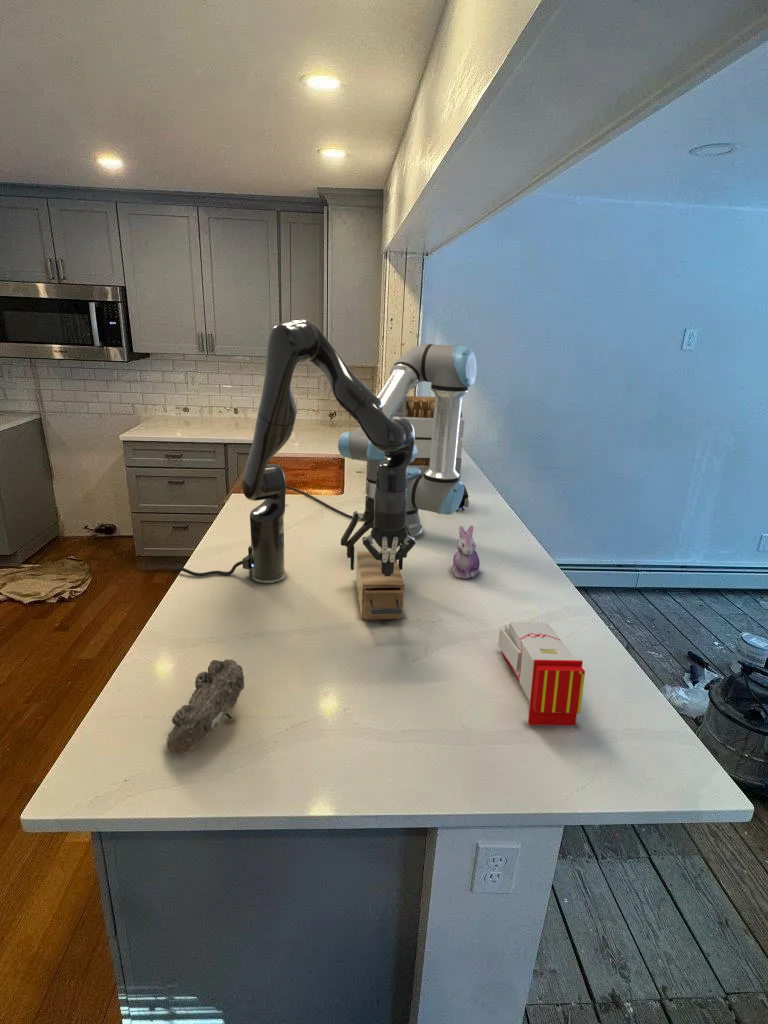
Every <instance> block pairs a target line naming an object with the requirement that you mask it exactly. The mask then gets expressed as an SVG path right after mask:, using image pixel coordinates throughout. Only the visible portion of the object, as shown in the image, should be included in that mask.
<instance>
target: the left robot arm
mask: <svg viewBox="0 0 768 1024" xmlns="http://www.w3.org/2000/svg"><path fill="white" fill-rule="evenodd" d="M267 340H268V341H267V350H266V359H265V373H264V379H263V380H264V381H263V385H262V391H261V398H260V403H259V406H258V410H257V415H256V421H255V428H254V432H253V438H252V442H251V446H250V450H249V454H248V457H247V459H246V461H245V462H246V463H245V466H244V469H243V473H242V479H241V488H242V493H243V494H244V497H245V498H246V499H247V500H249V501H252V502H253V501H255V502H256V501H257V502H258V501H263V502H262V503H261V504H259V505H258V506H256V507H255V508H253V509H252V510H251V511H250V513H249V528H250V529H249V530H250V545H248V547H247V550H248V551H247V553H248V555H246V556H245V557H243V558H242V559H241V560H240V561H238V562H236V563H235V564H233V565H232V567H231V568H230V570H229V571H222V570H211V571H206V572H194V571H191V570H190V569H188V568H185V567H181V566H180V567H175V568H174V569H172V570H171V572H170V573H171V574H176V573H177V572H184V573H186V574H188V575H191V576H193V577H194V576H195V577H207V576H211V575H220V576H221V575H222V576H230V575H232V574H234V573H235V571H236V568H238V567H240V566H241V565H242V569H243V570H244V569H245V570H248V573H249V574H248V577H249V579H252V580H253V581H254V582H257V583H259V584H275V583H278V582H280V581H282V580H284V579H285V577H286V572H285V571H286V569H285V532H284V531H285V524H284V523H285V520H284V516H285V512H286V496H287V495H286V493H287V488H286V486H287V480H286V475H285V472H284V469H283V468H282V467H281V465H280V464H277V463H270V461H271V460H272V459H273V457H275V455H277V453H279V451H280V450H281V449H283V447H284V446H285V445H286V443H287V442H288V441H289V440H290V438H291V436H292V433H293V431H294V427H295V423H296V419H297V412H298V411H297V408H298V407H297V404H296V400H295V398H294V395H293V393H292V389H291V384H292V379H293V375H294V371H295V369H296V367H297V365H298V364H301V363H304V362H307V361H309V362H311V363H312V364H314V366H316V367H317V368H319V370H320V371H321V372H322V373H323V374H324V376H325V377H326V379H327V381H328V384H329V386H330V390H331V393H332V394H333V397H334V398H335V400H336V402H337V403H338V404H339V405H340V407H341V408H342V409H343V410H344V411H345V412H346V413H347V414H348V415H349V416H350V417H351V418H352V419H354V420H355V421H356V423H358V425H360V426H361V428H362V430H363V431H364V433H365V435H366V436H367V438H368V439H369V441H370V442H371V443H372V445H373V446H374V447H375V448H377V449H378V450H379V451H381V452H383V453H385V455H384V458H383V460H382V461H381V462H380V463H379V465H378V467H377V476H376V491H375V498H374V523H373V529H372V528H371V530H370V534H369V535H366V536H362V537H361V542H362V544H363V546H364V547H365V549H367V551H369V552H370V553H371V554H372V556H373V557H374V558H375V559H376V560H380V561H381V571H382V574H384V576H391V574H393V572H394V562H395V561H396V560H397V561H399V560H401V559H402V558H403V557H404V556H405V555H406V554H407V555H408V553H409V552H410V551H411V550H412V549H413V547H414V546H416V543H417V542H416V540H415V539H416V538H415V539H414V537H410V536H409V535H408V533H407V530H406V516H407V481H408V467H410V466H409V464H410V461H411V457H412V453H413V448H414V443H415V432H414V428H413V426H412V424H411V422H410V421H408V420H407V419H405V418H394V419H391V420H389V419H388V418H387V417H386V416H385V414H384V413H383V412H382V410H383V404H382V402H381V401H380V399H379V398H378V397H377V396H378V395H376V394H375V393H374V392H373V391H371V389H370V388H368V387H367V386H366V385H365V383H364V382H363V381H361V380H360V378H359V377H358V376H356V375H355V374H354V372H353V371H352V370H351V369H350V368H349V366H348V365H347V364H346V363H345V361H344V360H343V359H342V357H341V356H340V354H339V353H338V352H337V350H336V349H335V348H334V346H332V344H331V342H329V340H328V339H327V338H326V336H325V335H324V333H323V332H322V330H321V329H320V328H319V327H318V326H317V325H316V324H315V323H314V322H312V321H311V320H310V319H306V318H297V319H292V320H288V321H284V322H280V323H278V324H276V325H274V327H272V329H271V331H270V333H269V336H268V339H267ZM269 463H270V464H269ZM404 539H405V540H404ZM403 541H404V542H405V543H404V544H403V546H402V547H401V548H400V549H399V546H400V545H402V544H401V543H402V542H403ZM374 542H375V543H376V544H377V546H378V547H379V548H380V551H381V553H379V552H378V551H379V550H378V549H377V548H376V547H375V545H374ZM397 549H398V550H397ZM388 551H389V556H388V557H387V554H388ZM403 559H404V558H403Z"/></svg>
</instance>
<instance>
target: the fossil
mask: <svg viewBox="0 0 768 1024" xmlns="http://www.w3.org/2000/svg"><path fill="white" fill-rule="evenodd" d="M243 670H244V669H243V667H242V665H240V664H237V662H236V661H235V660H234V659H232V658H231V659H227V658H226V659H224V660H223V661H222V660H217V659H212V660H211V661H210V663H209V665H208V666H207V671H201V672H199V673H198V674H197V675H196V676H195V680H194V684H195V685H194V687H195V689H194V690H193V693H192V694H191V697H190V698H189V700H188V704H184V705H182V706H181V707H180V709H177V710H176V711H175V713H174V715H173V716H172V718H171V723H172V724H173V727H172V730H171V731H170V732H168V734H167V738H166V741H167V742H166V745H167V749H168V750H169V751H173V752H174V753H176V754H178V753H182V752H188V751H189V752H192V751H193V750H195V748H196V747H197V746H199V744H200V743H201V742H203V741H204V740H205V739H206V738H207V737H208V736H209V735H210V734H211V733H212V732H214V730H215V729H217V727H218V726H219V724H220V722H221V721H222V720H223V719H224V718H225V716H226V717H227V719H229V720H233V717H232V715H230V714H229V710H230V709H231V708H234V706H235V704H236V703H237V702H238V699H239V697H240V695H241V693H242V691H243V690H245V689H244V688H245V675H244V671H243Z"/></svg>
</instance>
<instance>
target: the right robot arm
mask: <svg viewBox="0 0 768 1024" xmlns="http://www.w3.org/2000/svg"><path fill="white" fill-rule="evenodd" d="M477 368H478V367H477V359H476V356H475V353H474V351H473V350H472V349H471V348H470V347H467V346H461V345H451V344H450V345H449V344H436V343H435V344H432V343H423V344H418V345H415V346H413V347H412V348H410V349H408V350H407V351H405V352H404V353H403V354H401V356H400V357H399V358H397V360H396V361H395V362H394V364H393V365H392V367H391V368H390V370H389V377H388V378H387V380H386V382H385V383H384V385H383V386H382V388H381V389H380V390H379V392H378V394H377V395H376V396H377V397H378V398H379V399H380V401H381V402H382V404H383V410H382V412H383V413H384V414H385V416H386V417H387V418H388V419H389V420H391V419H392V418H393V417H394V415H395V413H396V412H397V410H398V409H399V407H400V405H401V404H402V402H403V401H404V399H405V397H406V396H408V395H409V393H410V391H411V390H412V389H415V388H416V387H417V386H418V384H419V383H422V382H427V383H430V390H431V391H432V392H433V394H434V397H435V404H434V416H433V428H432V440H431V452H430V464H429V465H428V468H427V469H426V470H424V472H423V474H422V470H421V468H419V467H414V466H411V467H410V466H409V467H408V481H407V516H406V530H407V533H408V535H409V536H410V537H414V539H418V538H420V537H421V536H422V535H423V525H422V524H421V518H420V515H419V510H421V511H426V512H429V513H436V514H438V515H445V516H451V515H453V514H454V513H456V512H457V511H458V509H459V508H458V507H459V505H460V503H461V501H462V498H463V494H464V486H465V484H464V483H463V482H462V481H461V480H460V481H459V474H458V473H457V472H456V470H455V466H456V456H457V446H458V436H459V425H460V415H461V412H462V405H463V398H464V395H466V394H467V393H468V391H469V387H472V386H474V384H475V382H476V378H477V373H478V372H477ZM337 448H338V452H339V455H341V457H344V458H347V459H350V460H353V461H354V460H356V461H360V462H361V461H362V462H366V479H365V497H364V498H365V501H364V512H363V513H362V512H358V511H356V510H355V511H353V513H352V515H349V514H348V513H345V512H343V511H341V510H339V509H337V508H335V507H333V506H332V505H329V504H328V503H326V502H324V501H322V500H320V499H318V498H316V497H315V496H313V495H311V494H309V493H307V492H305V491H302V490H300V489H297V488H294V487H292V486H288V485H286V489H288V490H291V491H294V492H296V493H299V494H301V495H304V496H306V497H309V498H311V499H312V500H314V501H316V502H318V503H320V504H321V505H322V506H324V507H326V508H328V509H330V510H332V511H334V512H336V513H338V514H340V515H342V516H344V517H347V518H349V519H351V521H350V522H349V525H348V526H347V528H346V529H345V531H344V533H343V535H342V537H341V539H340V545H341V546H342V547H346V557H347V558H348V559H350V565H349V566H350V571H354V570H355V544H356V543H357V542H359V540H360V539H362V538H363V536H364V535H365V534H366V533H367V532H368V531H369V530H370V529H371V530H372V529H373V523H374V498H375V491H376V476H377V467H378V465H379V463H380V462H381V461H382V460H383V458H384V455H385V453H383V452H381V451H379V450H378V449H377V448H375V447H374V446H373V445H372V443H371V442H370V441H369V439H368V438H367V436H366V435H365V433H364V431H363V430H362V428H361V426H360V425H359V424H357V426H356V428H355V429H354V431H345V432H343V433H342V434H341V435H339V439H338V442H337ZM416 456H417V447H416V445H415V443H414V448H413V453H412V457H411V461H410V463H411V462H413V461H414V460H415V458H416ZM456 510H457V511H456ZM361 521H363V524H362V525H361V526H360V527H359V529H358V530H357V531H356V532H354V530H355V528H356V526H357V525H358V522H361ZM353 532H354V534H353V535H352V533H353ZM404 540H405V539H404ZM404 543H405V542H404V541H403V542H402V543H401V544H400V545H399V546H398V550H399V549H400V548H401V547H402V546H403V544H404ZM407 556H408V553H407V554H406V555H405V556H404V557H403V558H402V559H401V560H398V561H397V562H398V566H399V569H400V571H402V570H403V567H404V566H403V565H404V559H406V558H407Z"/></svg>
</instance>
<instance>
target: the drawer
mask: <svg viewBox="0 0 768 1024" xmlns="http://www.w3.org/2000/svg"><path fill="white" fill-rule="evenodd" d="M402 601H403V602H404V598H403V591H402V590H398V588H366V591H365V605H364V618H363V619H364V620H365V621H366V620H402V618H403V614H402ZM401 617H402V618H401Z"/></svg>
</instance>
